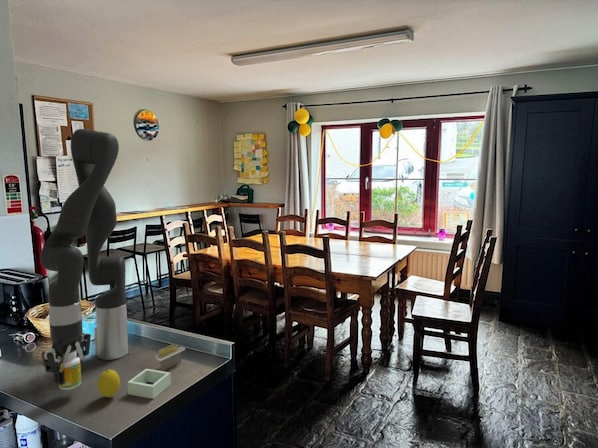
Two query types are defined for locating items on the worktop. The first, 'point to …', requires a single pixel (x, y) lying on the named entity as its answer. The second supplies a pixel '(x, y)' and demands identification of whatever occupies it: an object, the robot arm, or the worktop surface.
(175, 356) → the butter dish
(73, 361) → the supplement bottle
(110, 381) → the lemon
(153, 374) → the pale green open box
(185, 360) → the worktop surface
